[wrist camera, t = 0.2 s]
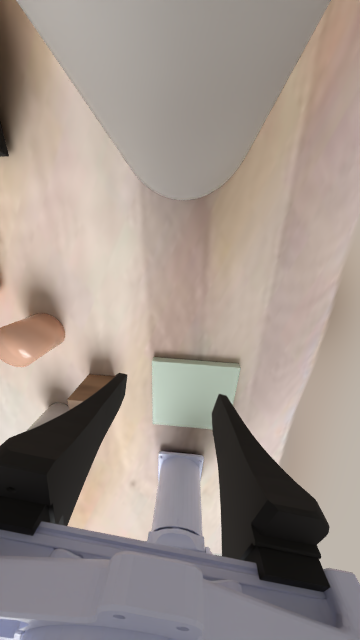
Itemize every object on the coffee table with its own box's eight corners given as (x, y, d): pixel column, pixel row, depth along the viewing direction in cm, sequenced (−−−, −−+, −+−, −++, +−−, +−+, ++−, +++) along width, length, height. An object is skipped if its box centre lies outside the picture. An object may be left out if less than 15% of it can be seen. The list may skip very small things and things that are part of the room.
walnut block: (117, 396, 27) (101, 425, 23) (92, 394, 27) (72, 422, 23) (114, 376, 26) (98, 402, 21) (89, 373, 26) (67, 399, 21)
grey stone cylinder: (79, 425, 30) (53, 464, 24) (51, 422, 30) (20, 460, 25) (74, 404, 28) (45, 440, 23) (45, 401, 29) (9, 437, 23)
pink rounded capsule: (68, 347, 24) (39, 368, 20) (34, 344, 25) (-2, 365, 20) (61, 314, 23) (27, 329, 18) (25, 312, 23) (-18, 326, 18)
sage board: (226, 424, 28) (227, 430, 27) (153, 418, 28) (152, 423, 27) (238, 363, 24) (240, 368, 23) (153, 357, 24) (152, 361, 23)
